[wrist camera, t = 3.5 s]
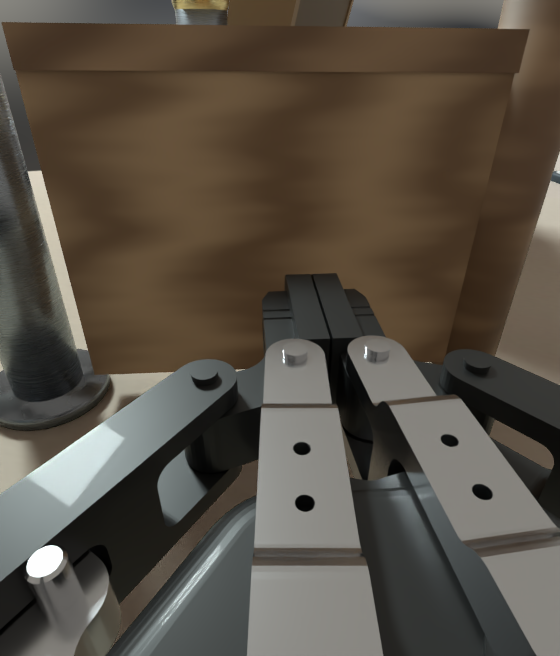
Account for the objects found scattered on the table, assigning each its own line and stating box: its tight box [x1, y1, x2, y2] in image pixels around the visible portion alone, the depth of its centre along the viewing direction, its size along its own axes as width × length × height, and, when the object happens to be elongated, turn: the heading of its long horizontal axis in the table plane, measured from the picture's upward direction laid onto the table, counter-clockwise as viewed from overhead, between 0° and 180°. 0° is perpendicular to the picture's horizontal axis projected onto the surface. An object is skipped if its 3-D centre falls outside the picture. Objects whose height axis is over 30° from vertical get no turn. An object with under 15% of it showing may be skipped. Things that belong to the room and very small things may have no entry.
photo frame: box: [227, 0, 354, 27], centre depth 40 cm, size 15×22×25 cm
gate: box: [2, 0, 560, 375], centre depth 18 cm, size 18×3×14 cm, turn 94°
